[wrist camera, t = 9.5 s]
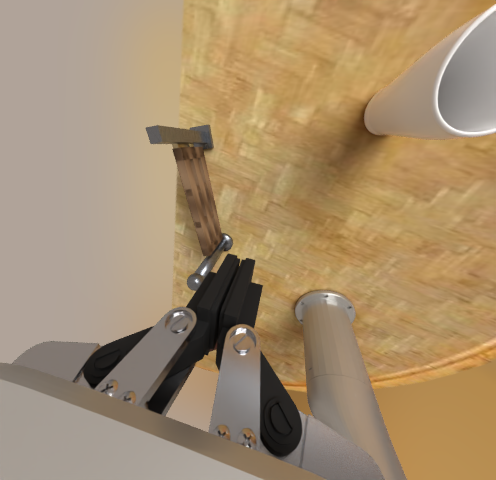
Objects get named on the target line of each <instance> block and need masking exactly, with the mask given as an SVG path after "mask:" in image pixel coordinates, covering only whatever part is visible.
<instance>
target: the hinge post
mask: <svg viewBox="0 0 496 480" xmlns="http://www.w3.org/2000/svg"><path fill="white" fill-rule="evenodd" d="M222 237H223V239H222V240H221V242H220V243H219V244H218V246H217V247H216V249H215V250H214V251H213V253H212V254H211V255H210V256H207V257H206V258H205V259H204V261H203V262H202V263H201V265H200V266H199V267H198V269H197V270H196V271H195V273H193V274H191V275H190V276H189V277H188V279H187V285H188V287H189V288H190V289H191V290H194V291H197V289H198V288H199V286H200V285H201V283H202V282H203V280H204V279H205V277H206V276H207V274H208V273H209V272H210V271H211V270H212V268H213V267H214V265H215V264H216V262H217V260H218V259H219V257H220V256H221V254H222V253H223V251H228V250H230V249H231V247H232V245H233V240H232V238H231V237H230V236H229V235H227V234H225V233H222Z"/></svg>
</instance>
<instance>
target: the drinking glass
mask: <svg viewBox="0 0 496 480" xmlns="http://www.w3.org/2000/svg"><path fill="white" fill-rule="evenodd" d="M364 123H365V126H366V128H367V129H368V131H370V132H371V133H373V134H375V135H391V136H400V137H407V138H415V139H425V140H447V139H460V138H470V137H480V136H485V135H489V134H493V133H496V4H495V5H493V6H491V7H490V8H488V9H487V10H485V11H483V12H482V13H480V14H479V15H477V16H475V17H474V18H472V19H471V20H469V21H468V22H466V23H465V24H463V25H462V26H460V27H459V28H457V29H456V30H454V31H453V32H452V33H450V34H449V35H447V36H446V37H445V38H443V39H442V40H441V41H439V42H438V43H437V44H436V45H434V46H433V47H432V48H430V49H429V50H428V51H427V52H426V53H424V54H423V55H422V56H421V57H420V58H419V59H417V60H416V61H415V62H414V63H413V64H412V65H410V66H409V67H408V68H407V69H406V70H405V71H403V72H402V73H401V74H400V75H399V76H398V77H396V78H395V79H394V80H393V81H392V82H390V83H389V84H388V85H387V86H385V87H384V88H382V89H381V90H379V91H378V92H377V93H376V94H375V95H374V96H373V97H372V99H371V100H370V101H369V103H368V105H367V107H366V110H365V114H364Z"/></svg>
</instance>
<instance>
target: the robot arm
mask: <svg viewBox="0 0 496 480" xmlns="http://www.w3.org/2000/svg"><path fill="white" fill-rule="evenodd" d="M239 263H240V259H238V258H237V256H236V255H232V254H227V256H226V258H225V259H224V261H223V263H222V264H221V266H220V268H219V270H218V271H217V273H213V272H209V273H208V274H207V276H206V277H205V279H204V280H203V282H202V283H201V285H200V286H199V288H198V289H197V291H196V293H195V294H194V296H193V297H192V299H191V300H190V302H189V303H188V305H187V306H186V307H179V308H175V309H173V310H171V311H169V312H168V313H167V314H165V315H164V317H163V318H162V319H161V320H160V321H159V322H158V323H157V324H156V325H155V326H153V327H150V328H147V329H145V330H142V331H140V332H137V333H134V334H132V335H129V336H127V337H124V338H121V339H119V340H116V341H113V342H111V343H109V344H106V345H104V346H100V345H99V344H97V343H78V342H55V341H50V342H43V343H41V344H38V345H35V346H34V347H32V348H30V349H28V350H26V351H25V352H24V353H23V354H22V355H20V356H19V357H18V358H17V359H16V360H15V361H14V362H13V363H12V364H8V363H0V480H407V479H406V477H405V474H404V472H403V470H402V467H401V464H400V462H399V460H398V457H397V455H396V452H395V450H394V447H393V445H392V442H391V440H390V437H389V434H388V431H387V429H386V426H385V424H384V420H383V417H382V415H381V412H380V409H379V406H378V403H377V400H376V397H375V394H374V391H373V388H372V385H371V382H370V379H369V376H368V373H367V370H366V367H365V364H364V361H363V358H362V355H361V352H360V349H359V346H358V343H357V340H356V337H355V334H354V331H353V328H352V325H351V324H352V322H353V321H354V319H355V309H354V306H353V304H352V303H351V301H350V300H349V299H348V298H347V297H345V296H343V295H342V294H339V293H337V292H333V291H327V290H318V291H313V292H310V293H307V294H305V295H303V296H302V297H301V298H300V299H299V300H298V301H297V303H296V305H295V314H296V317H297V319H298V321H299V322H300V323H301V324H302V325H303V337H304V353H305V369H306V385H307V397H308V403H309V407H310V410H311V412H312V414H313V416H314V417H312V416H311V415H308V416H307V415H305V414H304V413H302V412H300V411H299V410H298V409H297V407H296V405H295V404H294V402H293V401H292V399H291V397H290V396H289V394H288V393H287V391H286V390H285V388H284V386H283V385H282V383H281V382H280V380H279V379H278V377H277V375H276V374H275V372H274V371H273V369H272V368H271V366H270V364H269V363H268V361H267V360H266V358H265V356H264V355H263V353H262V352H261V350H260V337H259V335H258V333H257V332H256V331H255V329H254V326H255V321H256V316H257V311H258V306H259V301H260V296H261V292H262V287H263V285H260V284H256V283H252V282H251V280H252V275H253V270H254V265H255V260H253V259H249V258H246V260H242V261H241V264H240V266H239ZM216 343H217V353H216V365H217V367H218V370H219V377H218V383H217V388H216V394H215V400H214V405H213V410H212V416H211V422H210V427H209V433H208V432H205V431H203V430H200V429H198V428H195V427H192V426H190V425H187V424H184V423H182V422H179V421H176V420H173V419H171V418H168V417H166V414H167V412H168V410H169V409H170V407H171V405H172V403H173V402H174V400H175V399H176V397H177V395H178V394H179V392H180V390H181V389H182V387H183V385H184V383H185V381H186V380H187V378H188V377H189V375H190V373H191V372H192V370H193V368H194V366H195V364H196V362H197V361H199V360H201V359H203V357H204V354H205V355H208V353H209V351H210V349H213V350H214V348H215V346H216Z"/></svg>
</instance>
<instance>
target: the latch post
mask: <svg viewBox="0 0 496 480" xmlns="http://www.w3.org/2000/svg"><path fill="white" fill-rule="evenodd" d="M146 131H147V133H148V137H149V140H150V143H151V144H172V145H173V149H175V148H181V147H189V144H194V147H203V149H209V148H214V146H213V140H212V135H211V129H210V125H204V126H198V127H192V128H190V130H187V129H180V128H173V127H165V126H158V125H157V126H152V127H147V128H146Z"/></svg>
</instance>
